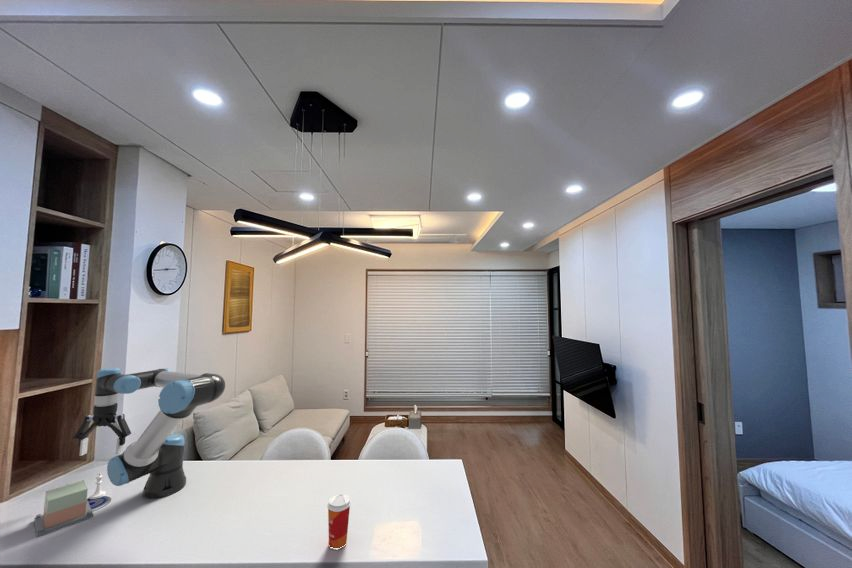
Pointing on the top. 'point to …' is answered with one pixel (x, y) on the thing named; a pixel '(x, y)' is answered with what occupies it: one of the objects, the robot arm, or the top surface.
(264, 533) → the top surface
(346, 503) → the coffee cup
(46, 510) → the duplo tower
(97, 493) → the chess piece
